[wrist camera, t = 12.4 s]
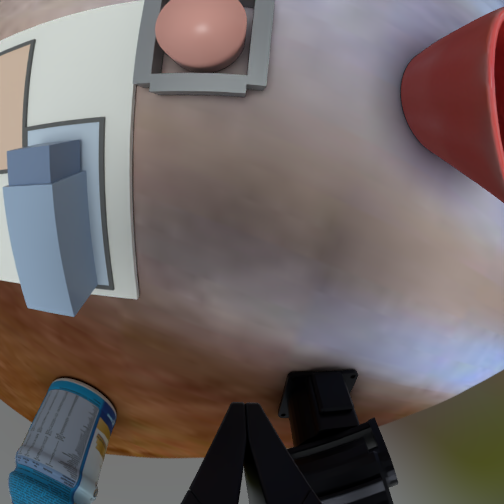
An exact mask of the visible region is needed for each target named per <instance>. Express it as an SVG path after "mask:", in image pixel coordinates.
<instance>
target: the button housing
mask: <svg viewBox="0 0 504 504" xmlns="http://www.w3.org/2000/svg"><path fill="white" fill-rule="evenodd" d="M169 1H170V0H145V1H144V6H143V12H142V17H141V23H140V29H139V35H138V42H137V49H136V56H135V65H134V74H133V84H134V85H137V86H140V87H143V88H147V87H150V90H149V92H152V93H155V94H158V95H220V96H237V97H245V94H246V89H253V90H264V89H265V87H266V85H267V75H268V65H269V55H270V44H271V34H272V24H273V14H274V3H275V0H239V1H240V3H241V4H242V6H243V7H253V8H254V14H253V23H252V33H251V42H250V51H249V61H248V71H247V75H238V74H220V73H161V69H162V60H163V52H164V50H163V49H162V48H161V47H160V45H159V44H158V41H157V39H156V35H155V25H156V20H157V18H158V15H159V13H160V12H161V10H162V9H163V7H164V6H165V5H166V4H167V3H168V2H169Z"/></svg>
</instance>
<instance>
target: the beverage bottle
mask: <svg viewBox="0 0 504 504" xmlns="http://www.w3.org/2000/svg"><path fill="white" fill-rule="evenodd" d="M115 421H116V411H115V409H114V407H113V405H112V404H111V403H110V401H109V400H108V399H107V398H106V397H105V396H104V395H102V394H101V393H100V392H99V391H97V390H96V389H94V388H92V387H91V386H89V385H87V384H85V383H83V382H80V381H77V380H74V379H69V378H60V379H57V380H55V381H54V382H53V383H52V384H51V386H50V388H49V390H48V392H47V395H46V396H45V398H44V400H43V402H42V404H41V406H40V408H39V410H38V412H37V414H36V416H35V418H34V420H33V422H32V424H31V426H30V428H29V430H28V433H27V435H26V437H25V439H24V441H23V443H22V446H21V447H20V448H19V449H18V451H17V453H16V456H15V463H16V468H15V470H14V471H13V472H11V473H10V474H9V478H8V486H9V492H10V496H11V500H12V503H13V504H91V503H92V502H93V501H94V500H95V499H96V496H97V493H98V487H97V484H98V480H99V476H100V472H101V467H102V464H103V460H104V457H105V453H106V449H107V446H108V442H109V439H110V436H111V432H112V429H113V427H114V425H115Z"/></svg>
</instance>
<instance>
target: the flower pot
mask: <svg viewBox="0 0 504 504" xmlns="http://www.w3.org/2000/svg"><path fill="white" fill-rule="evenodd" d="M401 101H402V107H403V111H404V114H405V118H406V120H407V123H408V125H409V127H410V129H411V130H412V132H413V134H414V135H415V136H416V138H417V139H418V141H419V142H420V143H421V144H422V145H423V146H424V147H425V148H427V149H428V150H429V151H431V152H432V153H434V154H435V155H437V156H438V157H440V158H441V159H443V160H444V161H446V162H447V163H449V164H450V165H451V166H453V167H454V168H456V169H457V170H459V171H460V172H461V173H463V174H464V175H466V176H467V177H469V178H470V179H472V180H473V181H475V182H476V183H478V184H479V185H480V186H482V187H483V188H484V189H486V190H487V191H488V192H490V193H491V194H493V195H494V196H495V197H497V198H498V199H499V200H501V201H502V202H503V203H504V7H502V8H499V9H497V10H495V11H493V12H490V13H488V14H486V15H484V16H482V17H480V18H478V19H476V20H474V21H472V22H471V23H469V24H467V25H465V26H463V27H461V28H459V29H458V30H456V31H454V32H452V33H450V34H449V35H447V36H445V37H443V38H442V39H440V40H438V41H437V42H435V43H434V44H432V45H431V46H429V47H428V48H426V49H425V50H423V51H422V52H421V53H419V54H418V55H417V56H415V57H414V58H413V59H412V60H411V61H410V63H409V64H408V66H407V68H406V70H405V72H404V75H403V78H402V84H401Z"/></svg>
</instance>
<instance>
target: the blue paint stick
mask: <svg viewBox="0 0 504 504" xmlns="http://www.w3.org/2000/svg"><path fill="white" fill-rule="evenodd" d="M7 169H8V183H9V185H7V186H4V187H3V197H4V205H5V213H6V219H7V225H8V231H9V237H10V242H11V247H12V252H13V256H14V261H15V265H16V269H17V273H18V277H19V281H20V284H21V288H22V291H23V295H24V298H25V301H26V304H27V308H31V309H35V310H40V311H45V312H50V313H56V314H61V315H67V316H72V317H75V315H76V314H77V312H78V311H79V310H80V308H81V307H82V305H83V304H84V303H85V301H86V300H87V298H88V297H89V296H90V294H91V293H92V292H93V290H94V289H95V288H96V286H97V285H98V282H97V276H96V270H95V263H94V256H93V249H92V241H91V232H90V222H89V210H88V196H87V175H86V171H80V139H79V140H68V141H59V142H50V143H42V144H36V145H31V146H27V147H22V148H18V149H14V150H10V151H7Z"/></svg>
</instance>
